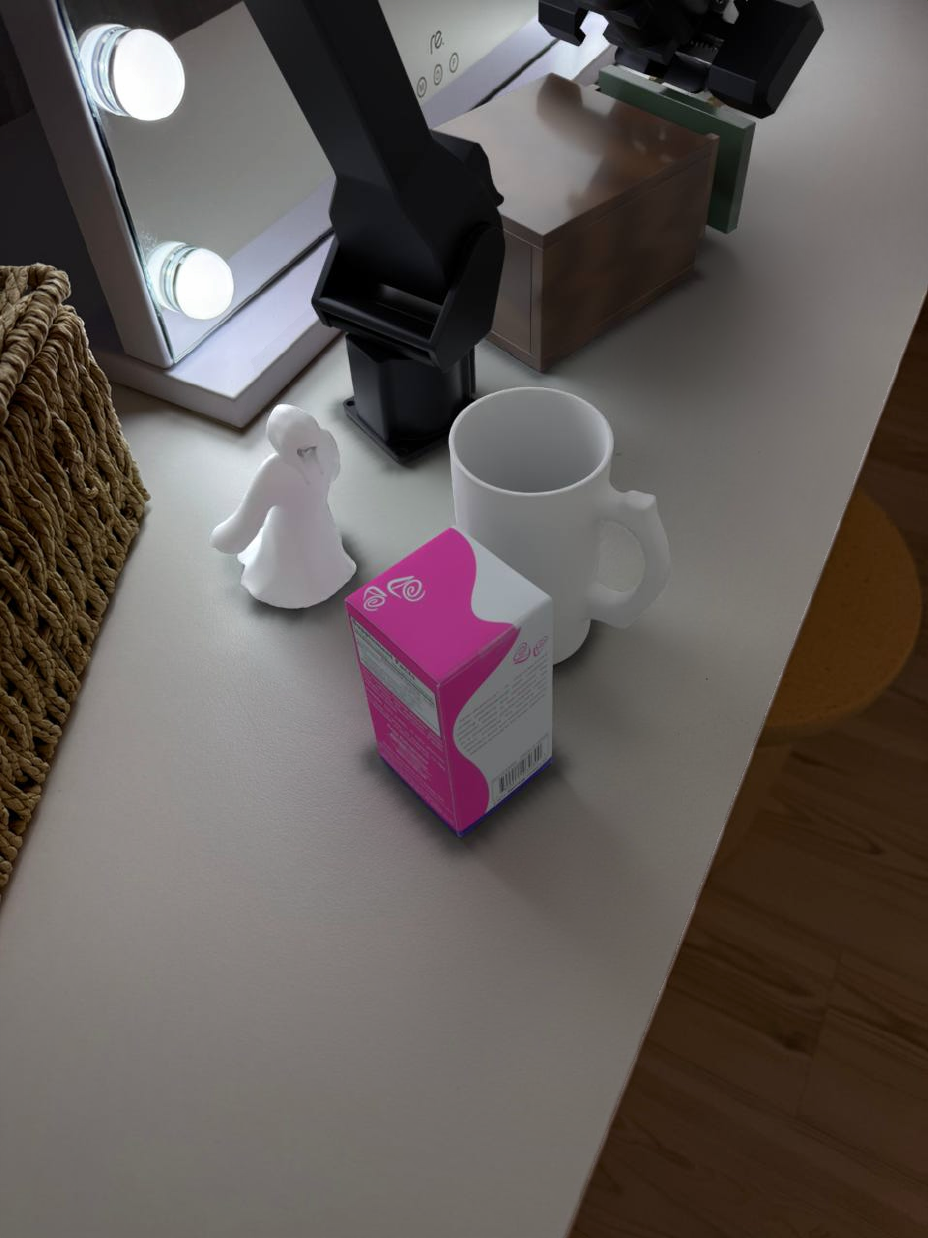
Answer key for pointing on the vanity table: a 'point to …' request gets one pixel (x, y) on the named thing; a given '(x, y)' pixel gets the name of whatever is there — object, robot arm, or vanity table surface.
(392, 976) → the vanity table surface
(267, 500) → the figurine
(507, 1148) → the vanity table surface
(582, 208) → the cabinet
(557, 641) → the mug
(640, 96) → the drawer
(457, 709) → the supplement box
